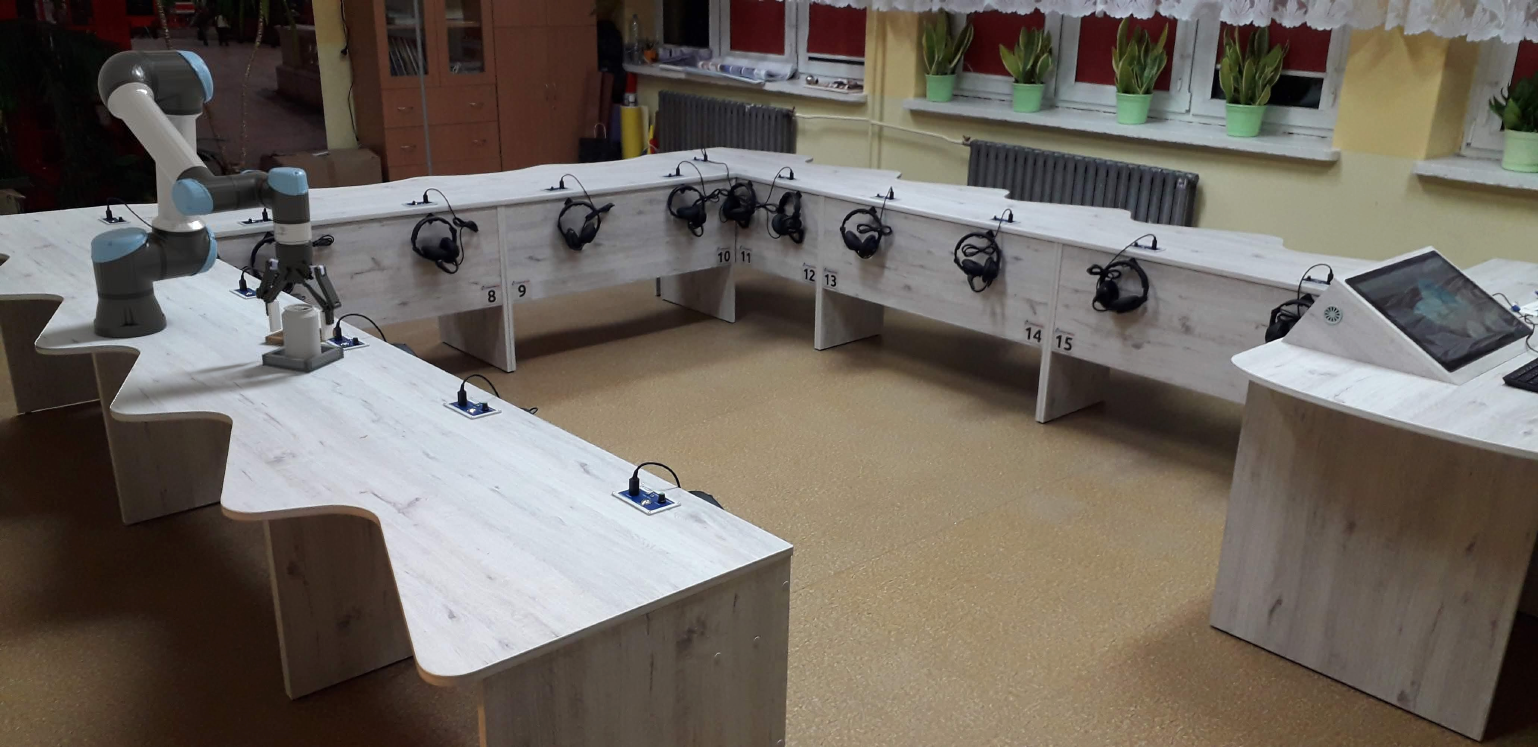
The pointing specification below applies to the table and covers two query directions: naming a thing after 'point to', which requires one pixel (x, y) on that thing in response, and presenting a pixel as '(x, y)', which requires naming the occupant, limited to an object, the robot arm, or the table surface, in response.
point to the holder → (279, 340)
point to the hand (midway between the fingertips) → (301, 334)
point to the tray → (302, 365)
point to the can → (301, 331)
